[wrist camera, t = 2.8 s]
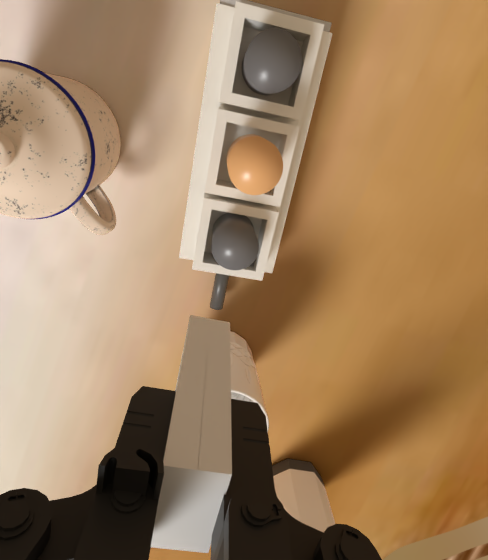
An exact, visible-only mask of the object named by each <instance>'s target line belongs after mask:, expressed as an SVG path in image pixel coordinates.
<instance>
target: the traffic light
mask: <svg viewBox="0 0 488 560" xmlns="http://www.w3.org/2000/svg"><path fill="white" fill-rule="evenodd" d="M331 24H332V23H331V22H327V21H323V20H320V19H316V18H312V17H308V16H305V15H301V14H297V13H293V12H289V11H286V10H282V9H278V8H274V7H271V6H267V5H263V4H259V3H256V2H252V1H248V0H220V4H219V3H217V4H216V11H215V17H214V24H213V31H212V38H211V45H210V51H209V58H208V65H207V72H206V78H205V85H204V92H203V99H202V106H201V112H200V119H199V126H198V133H197V140H196V146H195V153H194V160H193V167H192V173H191V180H190V187H189V194H188V201H187V207H186V214H185V221H184V228H183V234H182V241H181V248H180V255H179V258H183V259H189V260H193V266H192V269H193V270H199V271H205V272H211V273H216V276H215V282H214V287H213V292H212V298H211V303H210V307H211V308H212V309H215V310H221V309H222V308H223V303H224V298H225V293H226V288H227V284H228V279H229V275H230V276H236V277H242V278H248V279H254V280H260V281H262V280H263V276H264V272H267V273H273V269H274V265H275V261H276V257H277V253H278V249H279V245H280V241H281V237H282V233H283V229H284V225H285V221H286V217H287V213H288V209H289V205H290V201H291V197H292V193H293V189H294V185H295V181H296V177H297V173H298V169H299V165H300V161H301V157H302V153H303V149H304V145H305V141H306V137H307V133H308V129H309V125H310V121H311V117H312V113H313V109H314V105H315V101H316V97H317V93H318V89H319V85H320V81H321V77H322V73H323V69H324V65H325V62H326V58H327V54H328V50H329V46H330V42H331V38H332V34H333V33H330V28H331ZM269 28H279V29H283V30H285V31H287V32H289V33H290V34H291V35H292V36H293V37H294V38H295V39H296V41H297V42H298V44H299V47H300V50H301V54H302V65H301V70H300V73H299V75H298V77H297V79H296V80H295V82H294V83H293V84H292V85H291V86H290V87H289V88H287V89H285V90H283V91H281V92H278V93H275V94H271V95H260V94H257V93H255V92H253V91H252V90H251V89H250V88H249V87H248V86H247V85H246V83H245V81H244V79H243V75H242V61H243V57H244V55H245V53H246V51H247V49H248V46H249V45H250V43H251V41H252V40H253V38H254V37H255V36H256V35H257V34H258V33H260V32H261V31H263V30H266V29H269ZM246 134H255V135H259V136H261V137H263V138H265V139H266V140H268V141H270V142H271V143H273V144H274V145H275V146H276V147H277V149H278V150H279V152H280V154H281V156H282V160H283V172H282V176H281V178H280V180H279V182H278V183H277V185H276V186H275V187H274V188H273V189H272V190H270V191H269V192H267V193H264V194H261V195H249V194H246V193H243V192H241V191H240V190H239V189H237V188H236V187H235V186H234V184H233V183H232V181H231V179H230V177H229V173H228V168H227V162H226V157H227V152H228V149H229V147H230V145H231V144H232V143H233V142H234V141H235V140H236V139H237V138H239V137H240V136H243V135H246ZM228 212H229V213H234V214H239V215H245V216H247V217H248V218H249V219H250V221H251V222H252V224H253V227H254V230H255V233H256V237H257V240H258V243H259V252H258V255H257V257H256V259H255V261H254V262H253V263H252V264H251V265H250V266H248V267H246V268H244V269H241V270H229V269H226V268H224V267H222V266H220V265H219V264H218V263H217V262H216V260H215V259H214V257H213V254H212V229H213V225H214V223H215V221H216V220H217V219H218V218H219V217H220V216H221V215H223V214H225V213H228Z"/></svg>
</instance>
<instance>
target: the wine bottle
mask: <svg viewBox="0 0 488 560" xmlns="http://www.w3.org/2000/svg"><path fill="white" fill-rule="evenodd" d="M272 470H273V478H274V486H275V491H276V495H277V498H278V499H279V500H280V502H281V503H282V504H283V507H284V509H285V510H286V511H287V512H288V513H289V514H290V515H291V516H292V517H293V518H295V519H297V520H298V521H300V522H302V523H304V524H306V525H308V526H310V527H312V528H315V529H317V530H319V531H321V532H323V533H324V531H325V530H326V529H327V527H330V526H332V525H335V521H334V518H333V514H332V511H331V507H330V504H329V500H328V497H327V493H326V490H325V486H324V483H323V480H322V478H321V476H320V475H319V473H318V472H317V471H316V469H315V468H314V466H313V465H312V463H311V462H307V461H300V460H293V459H286V460H283V461H281V462H279V463H277V464H275V465H273V466H272Z"/></svg>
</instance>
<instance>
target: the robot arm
mask: <svg viewBox="0 0 488 560" xmlns="http://www.w3.org/2000/svg"><path fill="white" fill-rule="evenodd" d="M210 545H211V560H382V559H381V557H380V556H379V554H378V552H377V550H376V549H375V547H374V546H373V545H372V543H371V542H370V540H369V539H368V538H367V537H366V536H365V535H363V534H362V533H361V532H360V531H359V530H357V529H355V528H353V527H351V526H348V525H344V524H335V525H332V526H330V527H327V529H326V530H325V531H324V533H323V532H321V531H319V530H317V529H315V528H312V527H310V526H308V525H306V524H304V523H302V522H300V521H298V520H297V519H295V518H293V517H292V516H291V515H290V514H289V513H288V512H287V511H286V510H285V509H284V507H283V504H282V503H281V502H280V500H279V499H278V498H277V495H276V491H275V486H274V478H273V470H272V462H271V454H270V446H269V438H268V433H267V422H266V416H265V414H264V412H263V411H262V409H261V407H260V406H259V404H258V403H255V402H249V401H242V400H236V399H231V358H230V322H226V321H220V320H215V319H209V318H204V317H198V316H193V315H190V319H189V324H188V329H187V334H186V339H185V344H184V349H183V354H182V359H181V364H180V369H179V374H178V379H177V385H176V390H175V391H171V390H164V389H158V388H151V387H145V386H143V387H141V388H140V389H139V390H138V391H137V392H136V393H135V394H134V395H133V396H132V398H131V401H130V404H129V407H128V410H127V413H126V416H125V419H124V422H123V425H122V428H121V431H120V434H119V437H118V440H117V443H116V446H115V448H114V449H113V450H112V451H110V452H109V453H108V454H106V455H105V456H104V458H103V460H102V461H101V463H100V464H99V469H98V478H97V485H95V486H94V487H93V488H92V489H90V490H88V491H86V492H84V493H82V494H80V495H76V496H73V497H69V498H63V499H58V500H52V501H49V500H48V498H47V496H45V495H44V494H42V493H41V492H39V491H38V490H33V489H26V488H22V489H16V490H10V491H8V492H6V493H3V494H1V495H0V560H148V559H149V553H150V547H154V548H164V549H174V550H183V551H193V552H203V553H208V552H209V549H210Z"/></svg>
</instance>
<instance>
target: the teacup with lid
mask: <svg viewBox="0 0 488 560" xmlns="http://www.w3.org/2000/svg"><path fill="white" fill-rule="evenodd" d="M120 148H121V140H120V133H119V128H118V125H117V122H116V120H115V117H114V115H113V113H112V112H111V110H110V108H109V107H108V106H107V104H106V103H105V102H104V100H103V99H102V98H101V97H100V96H99V95H98V94H97V93H95V92H94V91H93V90H92V89H90V88H89V87H87V86H86V85H84V84H82V83H80V82H78V81H76V80H73V79H70V78H66V77H61V76H57V75H52V74H48V73H44V72H42V71H40V70H38V69H36V68H34V67H31V66H29V65H26V64H23V63H20V62H16V61H11V60H2V59H0V214H3V215H7V216H11V217H15V218H22V219H43V218H48V217H52V216H55V215H58V214H60V213H62V212H64V211H66V210H68V209H70V210H71V211H72V213H73V214H74V215H75V216H76V218H77V219H78V220H79V221H80V222H81V223H82V224H83V225H84V226H85V227H86V228H87V229H89V230H90V231H91V232H93V233H95V234H97V235H105V234H107V233H109V232H110V231H112V230H113V229H114V228H115V225H116V215H115V211H114V209H113V206H112V204H111V202H110V200H109V199H108V197H107V196H106V194H105V193H104V191H103V190H102V188H101V187H100V186H99V185H100V184H102V183H103V182H104V181H105V180H106V179H107V178H108V177H109V176H110V175H111V174H112V172H113V171H114V169H115V167H116V165H117V162H118V159H119V155H120ZM84 194H86V195H87V196H88V197H89V199H90V200H91V201H92V203H93V204H94V206H95V207H96V209H97V211H98V213H99V216H98V215H97V214H96V212H95V211H94V210H93V209H92V208H91V206H90V205H89V204H88V203H87V201H86V200H85V199H84V197H83V195H84Z"/></svg>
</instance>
